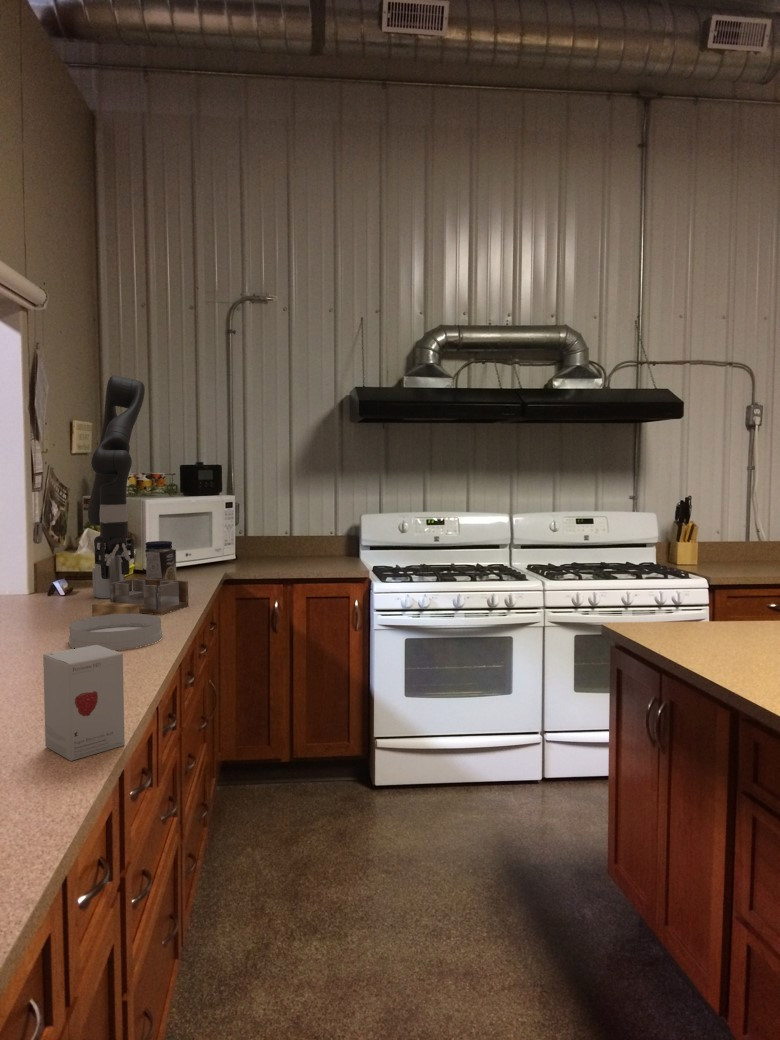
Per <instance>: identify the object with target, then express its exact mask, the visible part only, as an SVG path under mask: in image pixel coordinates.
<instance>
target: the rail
mask: <svg viewBox="0 0 780 1040" xmlns="http://www.w3.org/2000/svg"><path fill="white" fill-rule="evenodd" d="M91 609H92V610H91V612H92V613H91V614H92V616H91V617H95V616H102V615H110V614H140V613H139V604H124V603H111V602H108V601H107V602H106V601H101V602H97V603H92V604H91Z"/></svg>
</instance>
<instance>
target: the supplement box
mask: <svg viewBox="0 0 780 1040" xmlns="http://www.w3.org/2000/svg"><path fill="white" fill-rule="evenodd" d="M42 657H43V660H42V662H43V695H44V696H43V697H44V699H43V700H44V704H43V706H44V743H45V744H44V746H45V747H46V749H47V748H48V749H49V750H51V751H53V752H54V753H56V754H58V755H59V756H61V757H63V758H65V759H67V760H68V761H70V762H73V761H76V760H79V759H82V758H86V757H90V756H92V755H96V754H100V753H103V752H106V751H110V750H113V749H117V748H121V747H123V746H125V743H126V742H125V740H126V739H125V707H124V706H125V704H124V703H125V700H124V698H125V697H124V695H125V693H124V692H125V691H124V655H123V652H120V651H114V650H111V649H108V648H105V647H102V646H99V645H92V646H87V647H82V648H75V649H74V648H70V649H65V650H60V651H54V652H48V653H44V654H43V656H42Z"/></svg>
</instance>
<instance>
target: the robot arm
mask: <svg viewBox="0 0 780 1040" xmlns="http://www.w3.org/2000/svg"><path fill="white" fill-rule="evenodd" d="M105 390H106V393H105V401H104V412H103V423H102V428H101V435H100V440H99V445H98V446H97V448H96V450H95V451H94V452H93V455H92V457H91V461H90V462H91V467H92V468H91V469H92V470H93V471H94V472H95V473H94V474H95V476H94V481H93V484H92V485H93V486H92V490H91V493H90V497H89V502H88V507H87V519H88V521H89V523H90V524H91V525H92V526H97V527H98V526H99V533H100V535H98V536H96V537H95V538H94V539H93V540H94V541H93V547H94V548H93V550H94V568H92V570H91V571H92V594H93V595H92V597H93V598H98V599H110V583H114V582H118V581H123V580H126V579H125V576H129V575H130V572H131V571H130V570H131V569H130V562H131V560H134V559H135V545H134V544H135V543H134V539H133V538H127V537H128V536H129V516H128V508H127V484H128V480H129V475H130V471H131V470H132V469H131V468H132V464H133V463H132V462H133V460H132V456H131V454H130V451H131V448H130V447H131V446H130V442H131V437H132V432H133V429H134V426H135V424H136V422H137V419H138V417H139V414H140V411H141V409H142V406H143V403H144V399H145V398H144V397H145V392H146V391H145V390H146V389H145V383H144V382H142V381H141V380H137V379H133V378H128V377H123V376H119V375H118V376H117V375H111V376H110V377H109V379H108V381H107V384H106V389H105ZM116 407H120V408H124V409H125V410H124V411H122V412H121V413H120V414H118V415H117V409H116ZM129 552H130V553H129Z"/></svg>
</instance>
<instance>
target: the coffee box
mask: <svg viewBox="0 0 780 1040" xmlns="http://www.w3.org/2000/svg"><path fill="white" fill-rule="evenodd" d="M145 555H146V556H145V563H146V565H145V576H146V577H145V579H160V580H177V550H176V549H173V548H172V549H164V550H154V551H149V552H146V553H145Z"/></svg>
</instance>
